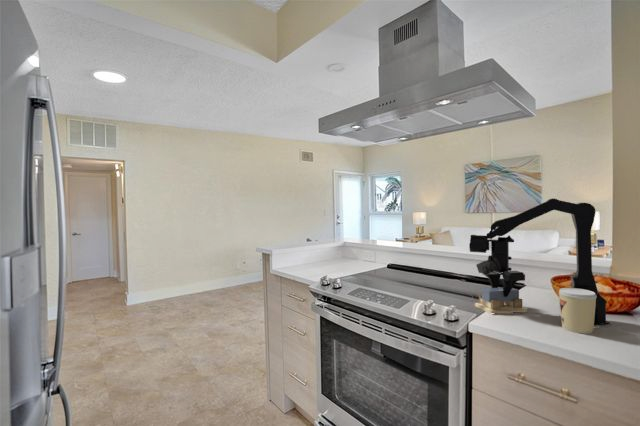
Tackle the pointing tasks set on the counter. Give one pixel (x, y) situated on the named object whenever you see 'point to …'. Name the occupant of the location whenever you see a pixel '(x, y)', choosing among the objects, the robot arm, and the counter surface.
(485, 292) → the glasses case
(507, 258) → the robot arm
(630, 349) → the counter surface
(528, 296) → the counter surface
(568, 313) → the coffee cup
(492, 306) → the display stand
